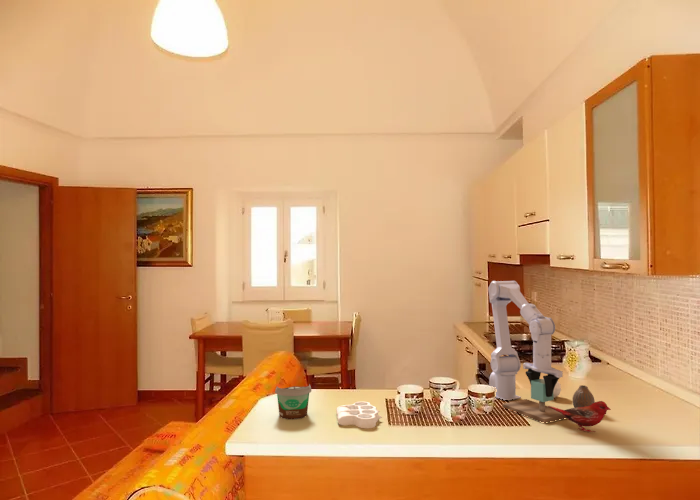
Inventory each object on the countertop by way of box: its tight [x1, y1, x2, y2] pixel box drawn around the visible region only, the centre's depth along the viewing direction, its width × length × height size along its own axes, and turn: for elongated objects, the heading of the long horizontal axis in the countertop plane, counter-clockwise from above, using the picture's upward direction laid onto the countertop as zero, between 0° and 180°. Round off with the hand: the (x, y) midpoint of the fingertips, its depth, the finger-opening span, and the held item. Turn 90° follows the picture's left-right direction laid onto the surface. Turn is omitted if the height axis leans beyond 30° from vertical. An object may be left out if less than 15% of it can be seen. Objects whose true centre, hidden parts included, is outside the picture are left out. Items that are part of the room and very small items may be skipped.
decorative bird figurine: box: [547, 400, 611, 433], centre depth 151 cm, size 3×18×10 cm, turn 61°
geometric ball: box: [553, 380, 562, 399], centre depth 186 cm, size 8×8×8 cm
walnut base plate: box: [501, 399, 566, 424], centre depth 167 cm, size 18×12×5 cm, turn 29°
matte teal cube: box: [530, 378, 554, 403], centre depth 165 cm, size 5×5×6 cm
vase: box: [572, 384, 596, 408], centre depth 169 cm, size 7×7×9 cm
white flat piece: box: [335, 401, 383, 429], centre depth 161 cm, size 3×18×15 cm
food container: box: [274, 383, 312, 420], centre depth 162 cm, size 12×6×10 cm, turn 105°
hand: (542, 394), depth 165 cm, fingers closed on matte teal cube, 5 cm apart
